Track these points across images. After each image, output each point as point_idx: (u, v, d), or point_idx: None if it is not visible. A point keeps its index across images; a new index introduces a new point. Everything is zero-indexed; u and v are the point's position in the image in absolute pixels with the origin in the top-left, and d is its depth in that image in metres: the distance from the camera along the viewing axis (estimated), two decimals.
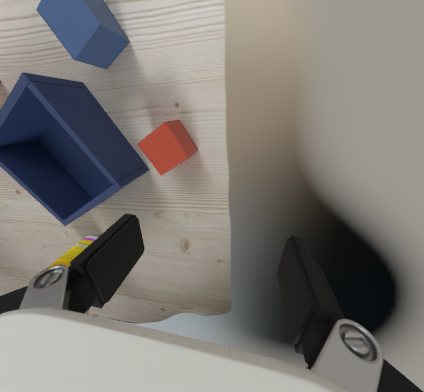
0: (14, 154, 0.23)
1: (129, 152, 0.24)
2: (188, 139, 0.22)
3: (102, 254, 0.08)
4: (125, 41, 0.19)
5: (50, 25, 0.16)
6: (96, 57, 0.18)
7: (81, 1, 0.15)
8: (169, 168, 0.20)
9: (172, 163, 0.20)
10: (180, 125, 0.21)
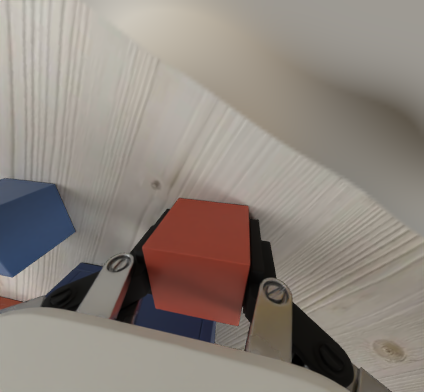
0: None
1: None
2: (216, 212, 0.10)
3: None
4: (48, 189, 0.12)
5: None
6: (39, 241, 0.12)
7: None
8: (237, 307, 0.08)
9: (233, 296, 0.07)
10: (186, 205, 0.10)
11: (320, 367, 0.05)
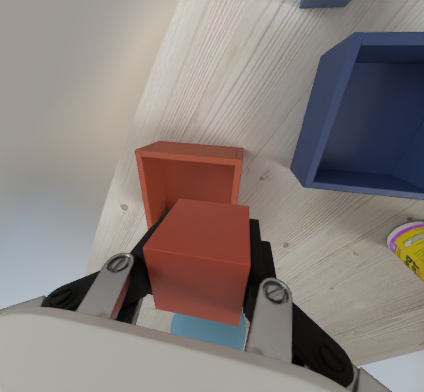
0: (318, 177, 0.21)
1: None
2: (217, 212, 0.10)
3: None
4: None
5: None
6: None
7: None
8: (238, 308, 0.08)
9: (234, 296, 0.07)
10: (186, 205, 0.10)
11: (320, 367, 0.05)
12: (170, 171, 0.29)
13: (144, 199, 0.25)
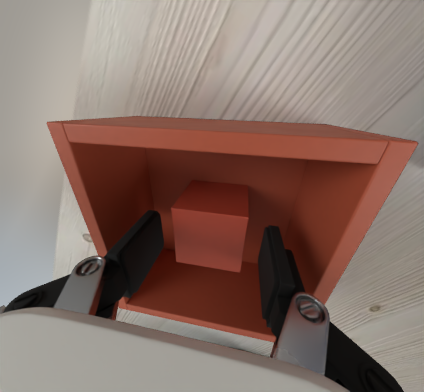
0: None
1: None
2: (223, 188, 0.12)
3: (133, 247, 0.08)
4: None
5: None
6: None
7: None
8: (239, 255, 0.11)
9: (236, 245, 0.10)
10: (198, 184, 0.13)
11: None
12: (162, 179, 0.14)
13: (98, 248, 0.10)
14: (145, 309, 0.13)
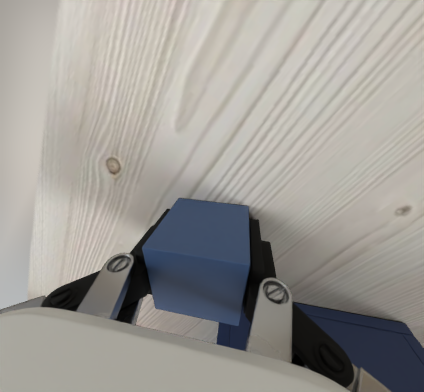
0: None
1: (365, 334, 0.12)
2: None
3: None
4: (248, 213, 0.10)
5: (181, 312, 0.09)
6: None
7: (199, 261, 0.07)
8: None
9: None
10: None
11: (320, 367, 0.05)
12: None
13: None
14: None
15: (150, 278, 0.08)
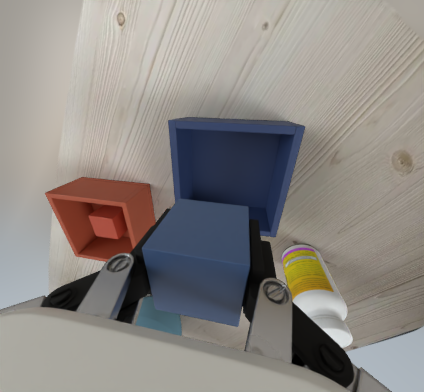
0: None
1: None
2: (115, 207, 0.31)
3: None
4: (248, 213, 0.10)
5: (181, 312, 0.09)
6: None
7: (199, 262, 0.07)
8: (115, 232, 0.29)
9: (112, 228, 0.29)
10: (107, 205, 0.32)
11: (320, 367, 0.05)
12: None
13: (63, 229, 0.29)
14: (85, 255, 0.31)
15: (150, 278, 0.08)
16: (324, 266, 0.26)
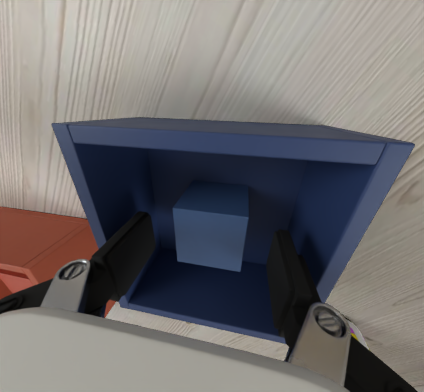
0: (155, 284, 0.14)
1: (276, 124, 0.11)
2: None
3: (120, 249, 0.08)
4: None
5: (197, 262, 0.12)
6: None
7: (213, 216, 0.10)
8: None
9: None
10: None
11: None
12: None
13: None
14: None
15: (176, 233, 0.11)
16: None
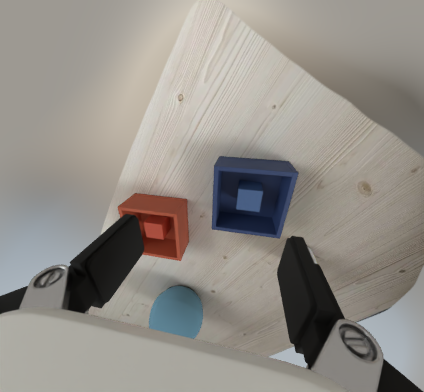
0: (223, 222, 0.36)
1: (271, 161, 0.32)
2: (160, 215, 0.42)
3: (103, 254, 0.08)
4: None
5: (243, 209, 0.33)
6: None
7: (252, 191, 0.31)
8: (162, 234, 0.40)
9: (160, 231, 0.40)
10: None
11: None
12: None
13: None
14: None
15: (238, 198, 0.32)
16: (314, 259, 0.37)
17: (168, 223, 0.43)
